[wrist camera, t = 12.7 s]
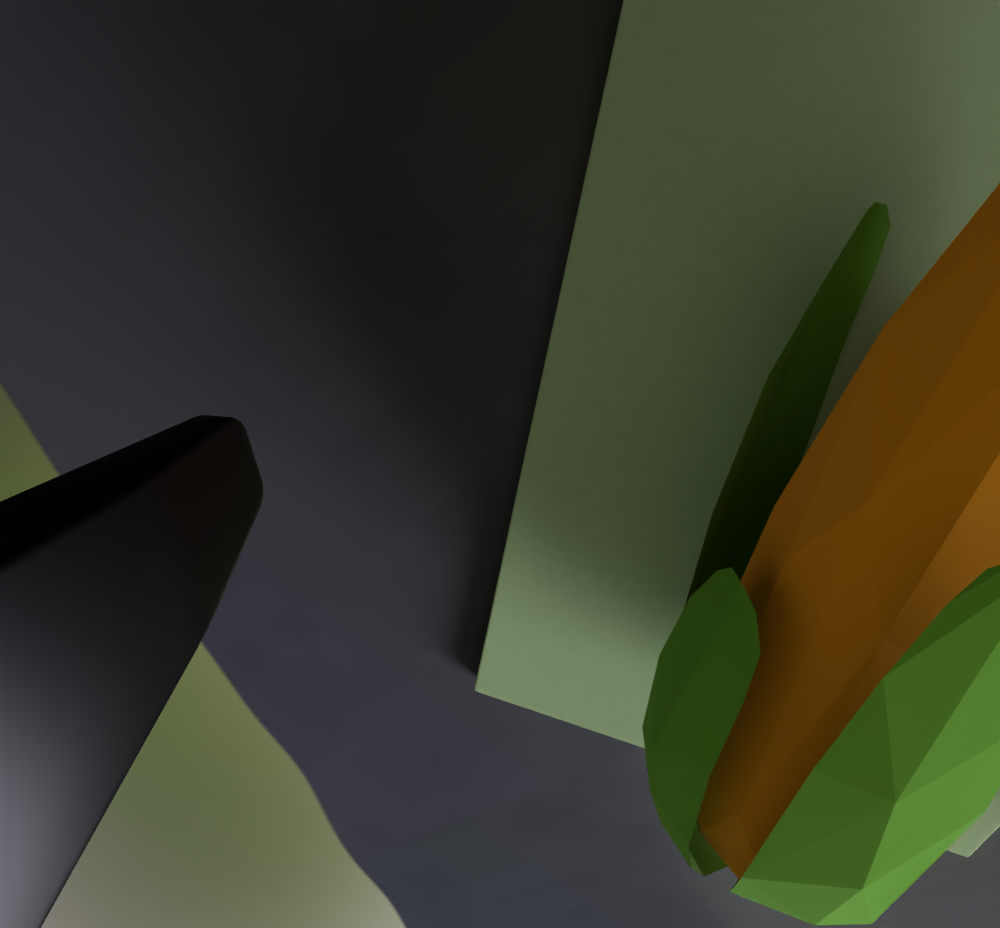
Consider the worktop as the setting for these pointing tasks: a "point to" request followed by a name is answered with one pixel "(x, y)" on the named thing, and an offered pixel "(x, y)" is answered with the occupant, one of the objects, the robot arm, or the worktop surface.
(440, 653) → the worktop surface
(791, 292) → the mat
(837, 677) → the corn
